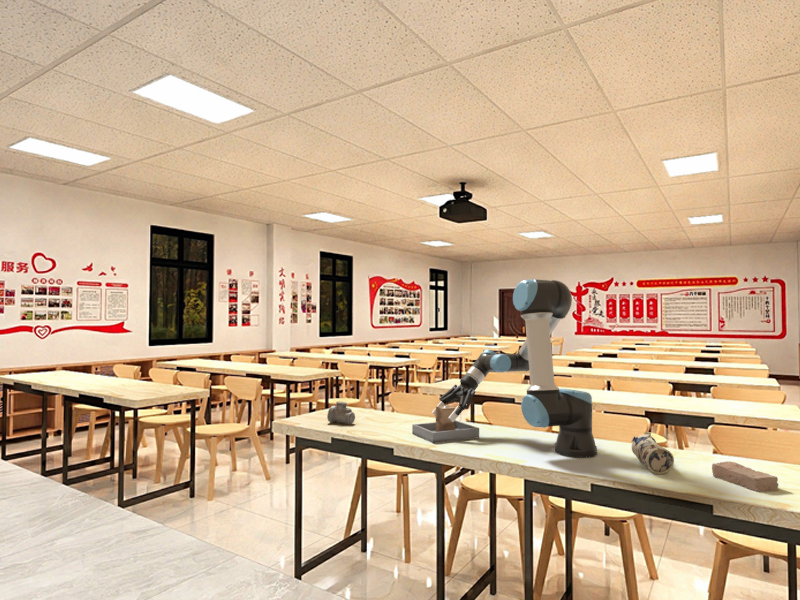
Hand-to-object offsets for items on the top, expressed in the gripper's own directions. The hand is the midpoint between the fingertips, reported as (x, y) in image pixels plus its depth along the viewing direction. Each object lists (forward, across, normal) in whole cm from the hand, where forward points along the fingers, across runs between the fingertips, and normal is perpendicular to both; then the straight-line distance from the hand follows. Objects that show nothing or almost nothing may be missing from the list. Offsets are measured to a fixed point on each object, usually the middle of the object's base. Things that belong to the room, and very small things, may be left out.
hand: (442, 417), depth 223 cm
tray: (+4, 0, -7) cm, 8 cm away
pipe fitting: (+26, +42, +15) cm, 52 cm away
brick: (-30, -93, -43) cm, 107 cm away
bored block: (+4, 0, -6) cm, 7 cm away
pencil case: (-23, -69, -35) cm, 81 cm away
